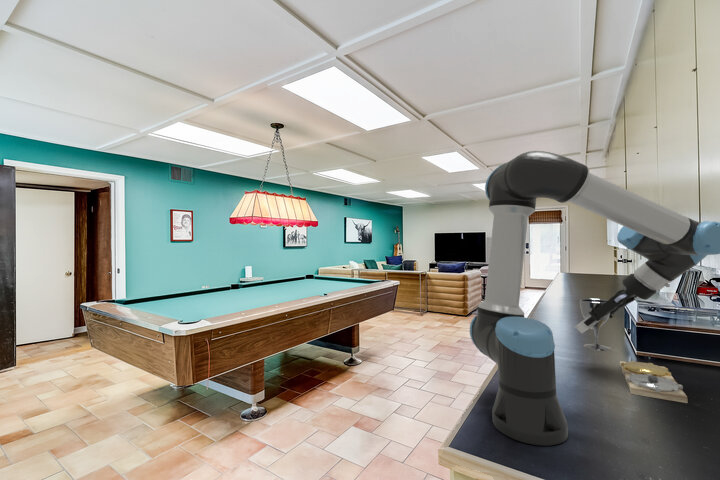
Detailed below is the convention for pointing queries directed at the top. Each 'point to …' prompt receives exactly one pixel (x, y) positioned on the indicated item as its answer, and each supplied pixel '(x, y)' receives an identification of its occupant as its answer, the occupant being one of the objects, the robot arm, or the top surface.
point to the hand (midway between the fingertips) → (583, 327)
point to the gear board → (651, 393)
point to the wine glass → (591, 306)
